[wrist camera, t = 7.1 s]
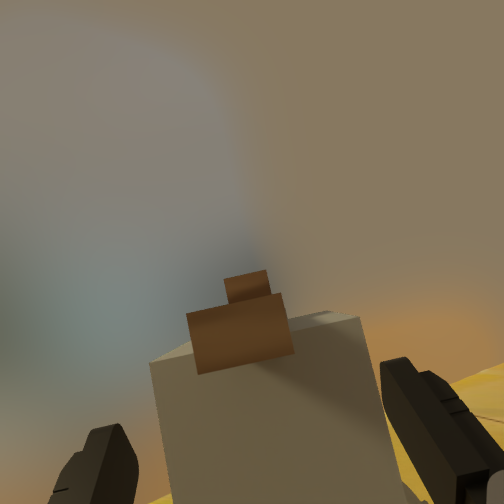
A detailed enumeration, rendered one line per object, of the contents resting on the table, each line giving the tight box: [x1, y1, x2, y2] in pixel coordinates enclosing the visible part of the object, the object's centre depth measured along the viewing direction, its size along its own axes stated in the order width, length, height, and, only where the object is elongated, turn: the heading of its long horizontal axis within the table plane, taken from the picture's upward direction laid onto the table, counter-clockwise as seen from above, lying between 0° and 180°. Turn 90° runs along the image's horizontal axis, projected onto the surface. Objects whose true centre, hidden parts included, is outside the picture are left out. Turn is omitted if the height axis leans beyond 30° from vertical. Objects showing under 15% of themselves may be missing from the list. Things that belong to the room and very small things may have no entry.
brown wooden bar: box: [186, 270, 295, 375], centre depth 25 cm, size 21×4×5 cm, turn 178°
